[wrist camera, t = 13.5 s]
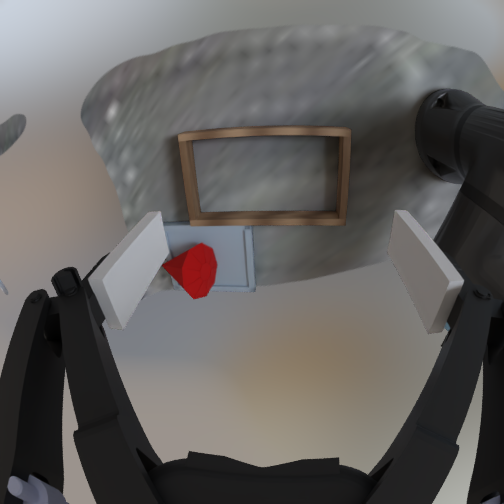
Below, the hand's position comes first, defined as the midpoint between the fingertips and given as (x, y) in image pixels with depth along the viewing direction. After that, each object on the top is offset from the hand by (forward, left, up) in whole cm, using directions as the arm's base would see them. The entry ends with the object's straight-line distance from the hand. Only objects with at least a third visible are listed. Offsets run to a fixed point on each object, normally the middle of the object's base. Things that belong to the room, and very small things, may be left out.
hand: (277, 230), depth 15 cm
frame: (+2, +4, -27) cm, 27 cm away
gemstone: (+15, +19, -26) cm, 35 cm away
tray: (+12, +18, -27) cm, 34 cm away
